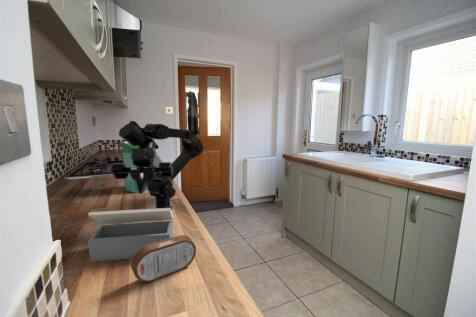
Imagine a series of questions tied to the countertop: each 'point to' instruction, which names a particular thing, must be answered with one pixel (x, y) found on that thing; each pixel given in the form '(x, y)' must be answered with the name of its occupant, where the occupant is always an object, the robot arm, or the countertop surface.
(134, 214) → the lid
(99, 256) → the storage box
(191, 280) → the countertop surface
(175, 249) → the tin
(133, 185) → the milk carton
